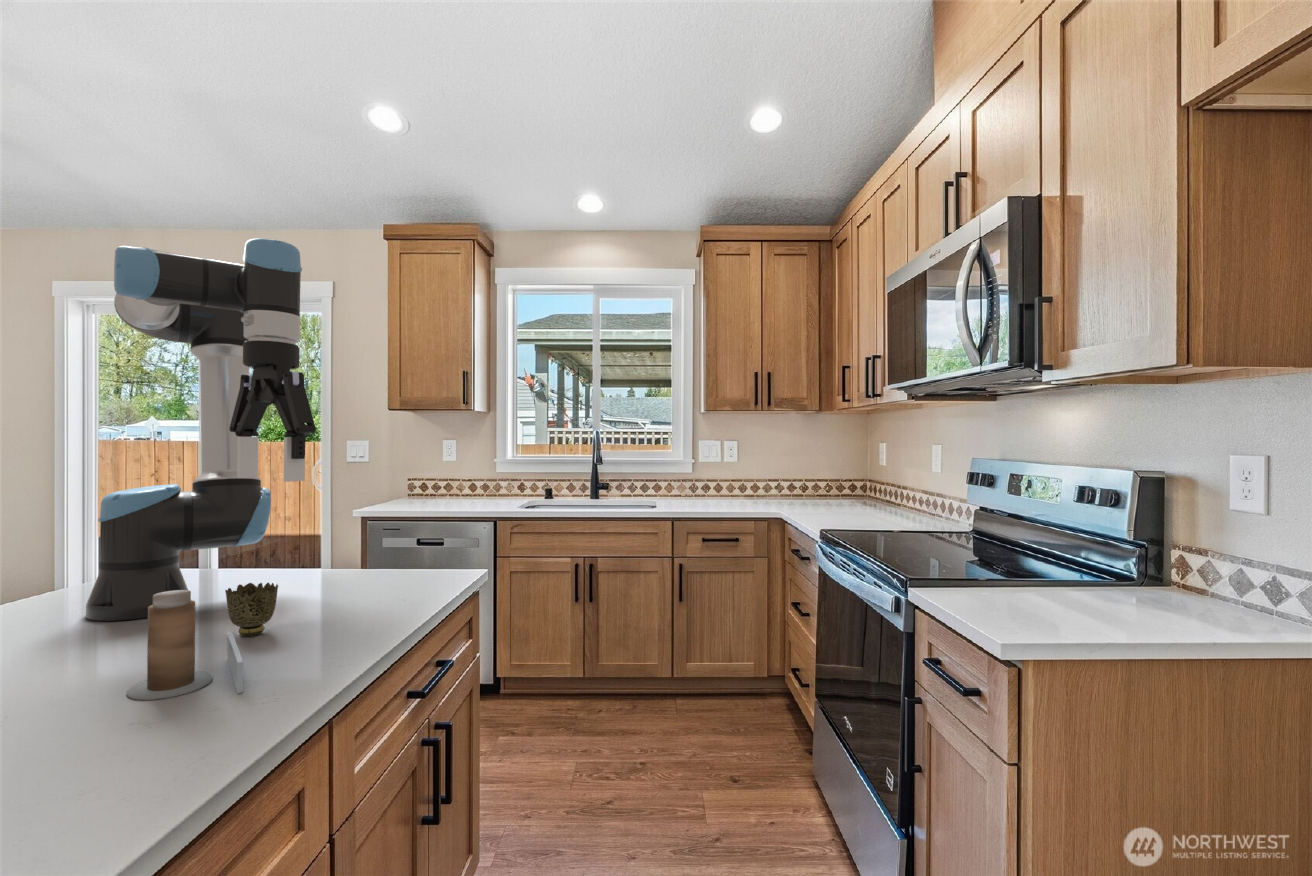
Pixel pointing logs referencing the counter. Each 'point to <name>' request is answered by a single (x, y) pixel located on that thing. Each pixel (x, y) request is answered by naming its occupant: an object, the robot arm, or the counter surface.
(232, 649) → the acrylic wall
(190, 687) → the coaster
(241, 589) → the cup
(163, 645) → the pepper mill
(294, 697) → the counter surface
